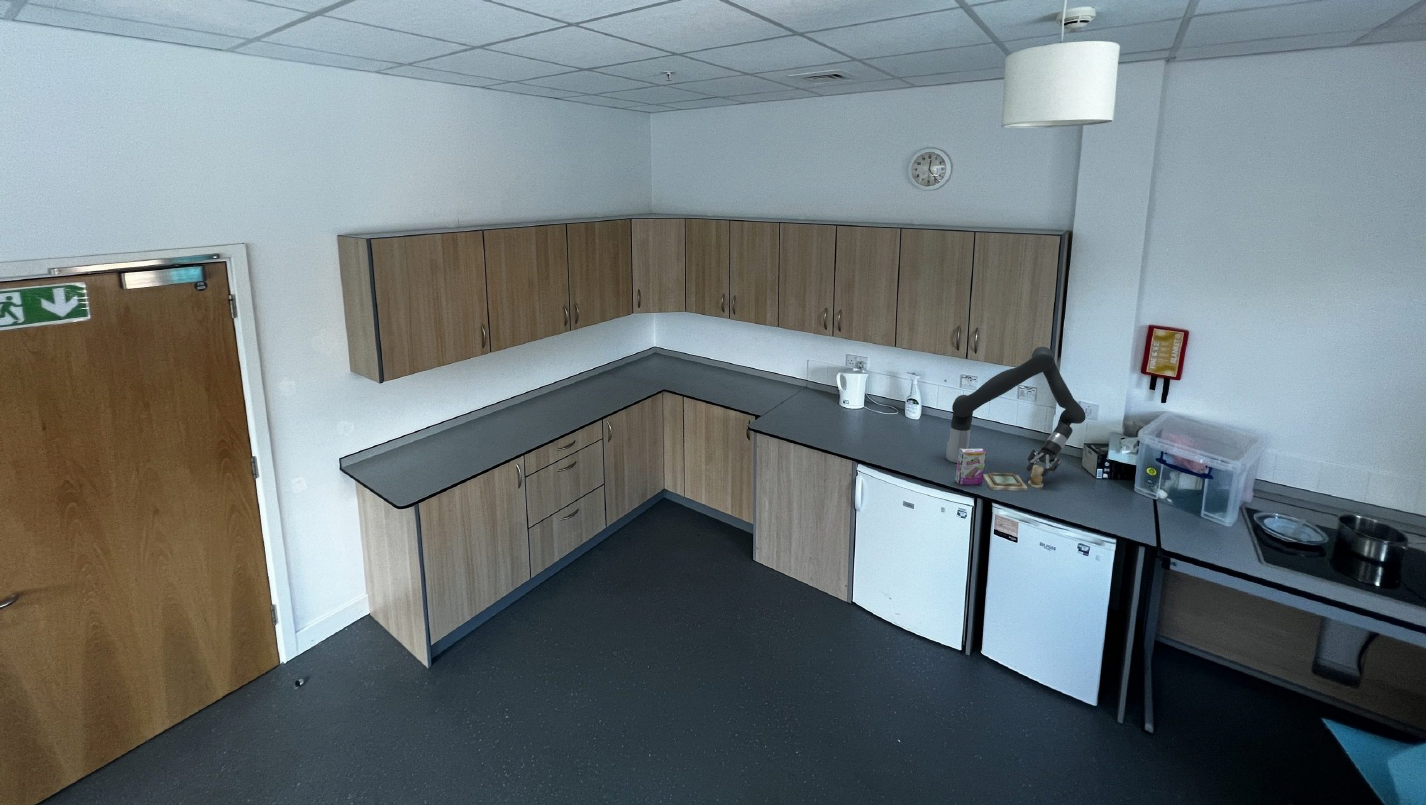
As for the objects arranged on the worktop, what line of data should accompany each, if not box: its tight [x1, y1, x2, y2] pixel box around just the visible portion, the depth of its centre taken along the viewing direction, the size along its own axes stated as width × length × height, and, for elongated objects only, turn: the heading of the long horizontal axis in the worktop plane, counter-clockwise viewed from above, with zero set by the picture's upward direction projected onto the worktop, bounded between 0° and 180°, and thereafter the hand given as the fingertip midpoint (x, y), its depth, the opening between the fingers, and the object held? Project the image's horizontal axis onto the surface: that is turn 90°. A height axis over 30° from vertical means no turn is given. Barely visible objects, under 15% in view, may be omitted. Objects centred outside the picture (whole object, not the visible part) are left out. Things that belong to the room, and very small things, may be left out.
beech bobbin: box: [1027, 464, 1044, 489], centre depth 326 cm, size 6×6×9 cm
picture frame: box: [983, 472, 1028, 492], centre depth 328 cm, size 16×14×3 cm
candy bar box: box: [954, 448, 987, 486], centre depth 327 cm, size 11×5×16 cm, turn 92°
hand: (1035, 473), depth 324 cm, fingers open, 6 cm apart
